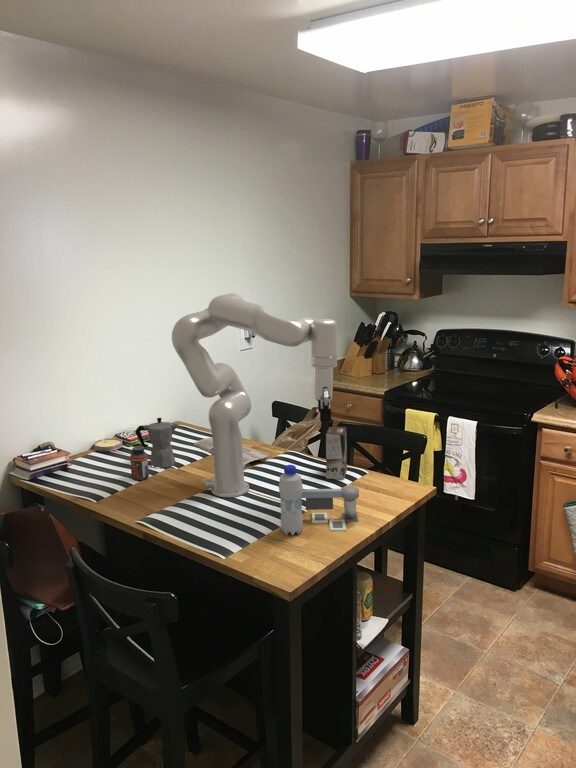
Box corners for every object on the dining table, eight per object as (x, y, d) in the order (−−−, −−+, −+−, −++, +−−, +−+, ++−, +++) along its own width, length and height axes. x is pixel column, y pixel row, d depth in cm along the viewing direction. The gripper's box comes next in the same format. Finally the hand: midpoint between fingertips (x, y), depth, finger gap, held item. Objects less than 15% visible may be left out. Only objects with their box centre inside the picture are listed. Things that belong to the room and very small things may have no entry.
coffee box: (344, 479, 212) (344, 434, 208) (325, 478, 213) (325, 434, 209) (347, 470, 220) (347, 426, 217) (329, 469, 222) (328, 425, 218)
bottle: (279, 526, 179) (277, 461, 175) (302, 525, 180) (300, 460, 175) (281, 538, 173) (278, 470, 168) (305, 536, 173) (303, 469, 169)
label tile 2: (330, 531, 176) (330, 529, 176) (329, 521, 182) (329, 519, 182) (346, 530, 176) (346, 529, 176) (344, 521, 182) (344, 519, 182)
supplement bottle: (128, 480, 217) (125, 449, 214) (138, 474, 222) (135, 444, 220) (142, 482, 215) (139, 451, 212) (152, 475, 220) (149, 445, 217)
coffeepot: (180, 457, 237) (176, 412, 233) (181, 466, 228) (178, 419, 224) (138, 462, 234) (134, 416, 230) (138, 471, 225) (134, 423, 221)
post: (343, 521, 182) (342, 500, 180) (342, 514, 186) (342, 494, 184) (358, 521, 182) (358, 500, 180) (356, 514, 186) (356, 494, 184)
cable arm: (358, 504, 185) (358, 485, 184) (359, 512, 180) (359, 493, 179) (289, 505, 186) (288, 487, 185) (288, 513, 181) (288, 494, 180)
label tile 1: (312, 523, 181) (312, 521, 181) (311, 514, 187) (311, 512, 187) (327, 522, 181) (327, 521, 181) (326, 513, 187) (326, 512, 187)
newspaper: (194, 447, 250) (193, 438, 249) (219, 439, 258) (219, 431, 257) (246, 470, 224) (246, 461, 223) (273, 461, 232) (273, 452, 231)
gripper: (310, 355, 192) (310, 408, 196) (312, 367, 175) (313, 425, 180) (334, 355, 192) (334, 408, 196) (339, 367, 175) (339, 425, 180)
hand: (324, 416), depth 188 cm, fingers open, 9 cm apart
